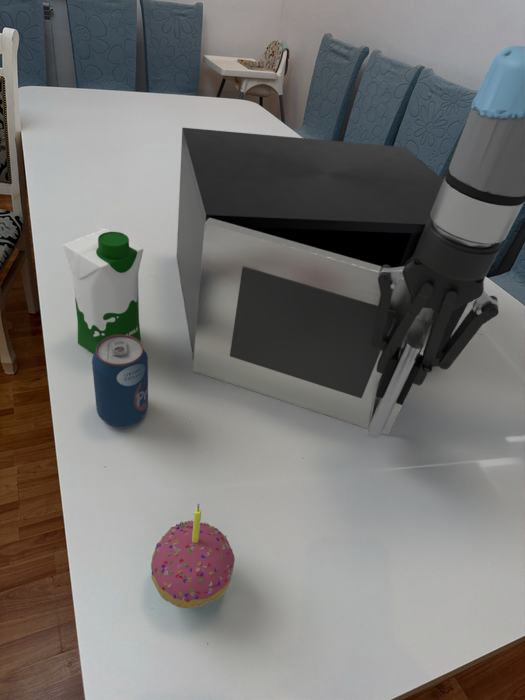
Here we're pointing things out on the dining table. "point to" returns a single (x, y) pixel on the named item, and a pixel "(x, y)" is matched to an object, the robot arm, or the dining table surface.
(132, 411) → the soda can
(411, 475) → the dining table surface
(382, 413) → the microwave door
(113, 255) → the milk carton
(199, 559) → the cupcake
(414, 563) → the dining table surface
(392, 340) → the robot arm
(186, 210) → the microwave
